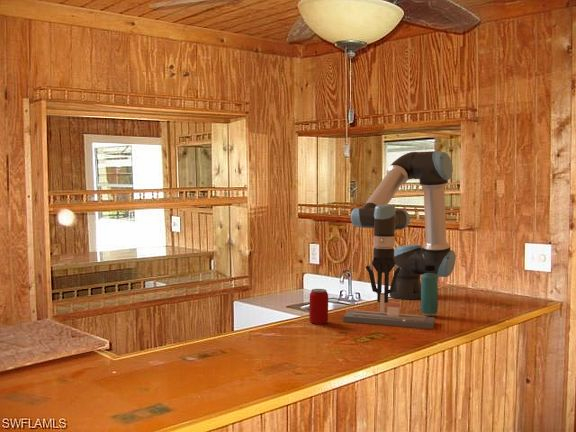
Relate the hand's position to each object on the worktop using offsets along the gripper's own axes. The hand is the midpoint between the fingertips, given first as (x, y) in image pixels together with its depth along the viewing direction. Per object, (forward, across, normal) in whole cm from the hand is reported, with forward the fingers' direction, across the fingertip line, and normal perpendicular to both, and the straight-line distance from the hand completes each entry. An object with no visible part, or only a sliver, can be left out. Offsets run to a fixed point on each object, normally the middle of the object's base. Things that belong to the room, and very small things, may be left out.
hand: (382, 311), depth 225 cm
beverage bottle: (+4, +15, +15) cm, 22 cm away
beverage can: (+4, -22, -10) cm, 24 cm away
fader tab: (+2, +4, 0) cm, 4 cm away
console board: (+4, +2, 0) cm, 5 cm away
